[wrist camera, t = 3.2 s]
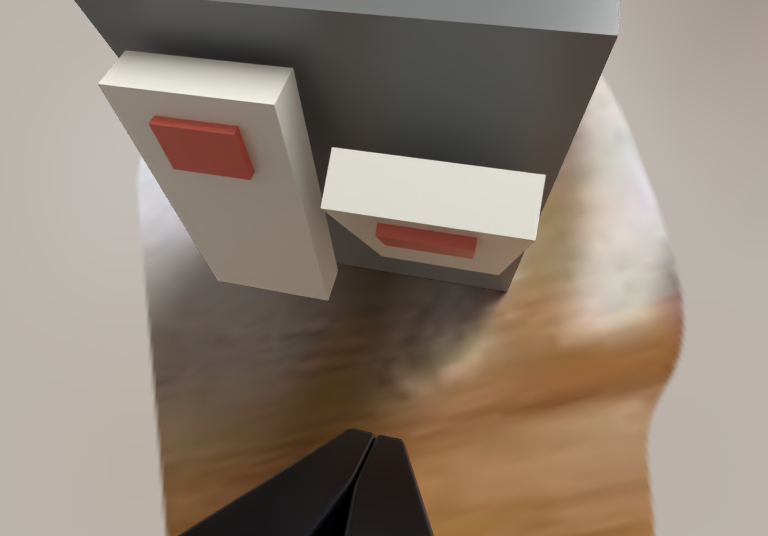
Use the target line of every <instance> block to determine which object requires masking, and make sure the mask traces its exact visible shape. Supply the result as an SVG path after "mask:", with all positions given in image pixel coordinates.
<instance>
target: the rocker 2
mask: <svg viewBox="0 0 768 536" xmlns="http://www.w3.org/2000/svg"><path fill="white" fill-rule="evenodd" d="M545 177H546V175H542V174H535V173H527V172H519V171H512V170H504V169H496V168H488V167H481V166H473V165H465V164H458V163H450V162H442V161H435V160H427V159H419V158H411V157H404V156H396V155H388V154H381V153H373V152H365V151H357V150H350V149H342V148H334V147H332V150H331V155H330V160H329V166H328V171H327V176H326V182H325V187H324V192H323V198H322V203H321V209H322V210H323V211H325V212H326V213H327V214H329V215H330V216H331V217H332V218H334V219H335V220H336V221H338V222H339V223H340V224H341V225H343V226H344V227H345V228H347V229H348V230H349V231H350V232H352V233H353V234H354V235H355V236H357V237H358V238H359V239H361V240H362V241H363V242H364V243H366V244H367V245H368V246H370V247H371V248H372V249H373V250H375V251H376V252H377V253H378V254H380V255H381V256H383V257H389V258H396V259H402V260H408V261H414V262H420V263H426V264H433V265H439V266H445V267H451V268H457V269H463V270H469V271H476V272H482V273H488V274H494V275H500V274H501V273H502V272H503V271H504V270H505V269H506V268H507V267H508V266H509V265H510V264H511V263H512V262H513V261H514V260H515V259H516V258H517V257H519V256H520V255H521V254H522V253H523V252H524V251H525V250H526V249H527V248H528V247H529V246H530V245H531V244H532V243H533V242H534V241H535V240H536V234H537V228H538V221H539V215H540V208H541V202H542V196H543V189H544V183H545Z"/></svg>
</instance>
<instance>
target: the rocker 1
mask: <svg viewBox="0 0 768 536" xmlns="http://www.w3.org/2000/svg"><path fill="white" fill-rule="evenodd" d="M98 85H99V87H100V88H101V90H102V92H103V93H104V95H105V97H106V98H107V100H108V102H109V103H110V105H111V106H112V108H113V110H114V111H115V113H116V115H117V116H118V118H119V120H120V121H121V123H122V125H123V126H124V128H125V129H126V131H127V133H128V134H129V136H130V137H131V139H132V141H133V142H134V144H135V146H136V147H137V149H138V151H139V152H140V154H141V156H142V157H143V159H144V161H145V162H146V164H147V166H148V167H149V169H150V171H151V172H152V174H153V175H154V177H155V179H156V180H157V182H158V184H159V185H160V187H161V189H162V190H163V192H164V194H165V195H166V197H167V198H168V200H169V202H170V203H171V205H172V207H173V208H174V210H175V212H176V213H177V215H178V217H179V218H180V220H181V221H182V223H183V225H184V226H185V228H186V230H187V231H188V233H189V235H190V236H191V238H192V240H193V241H194V243H195V244H196V246H197V248H198V249H199V251H200V253H201V254H202V256H203V258H204V259H205V261H206V263H207V264H208V266H209V267H210V269H211V271H212V272H213V274H214V276H215V277H216V279H217V281H221V282H227V283H233V284H238V285H244V286H249V287H255V288H260V289H266V290H272V291H277V292H283V293H288V294H294V295H299V296H305V297H311V298H316V299H322V300H327V301H328V300H329V297H330V294H331V291H332V288H333V285H334V282H335V279H336V276H337V273H338V269H337V264H336V260H335V255H334V251H333V246H332V242H331V237H330V232H329V228H328V223H327V219H326V214H325V211H323V210H322V209H321V203H322V196H321V192H320V187H319V183H318V178H317V174H316V169H315V165H314V160H313V156H312V151H311V147H310V142H309V137H308V133H307V128H306V124H305V119H304V115H303V110H302V106H301V101H300V97H299V92H298V88H297V83H296V79H295V74H294V70H293V68H288V67H278V66H269V65H259V64H250V63H240V62H231V61H221V60H212V59H202V58H193V57H183V56H174V55H164V54H155V53H145V52H136V51H127V50H125V51H124V53H123V54H122V55H121V56H120V57H119V59H118V60H117V61H116V62H115V64H114V65H113V66H112V67H111V69H110V70H109V71H108V72H107V73H106V75H105V76H104V77H103V78H102V79H101V81H100V82H99V83H98Z"/></svg>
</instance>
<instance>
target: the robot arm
mask: <svg viewBox="0 0 768 536" xmlns="http://www.w3.org/2000/svg"><path fill="white" fill-rule="evenodd" d="M178 536H434V535H433V531H432V528H431V525H430V522H429V519H428V516H427V512H426V509H425V506H424V503H423V500H422V497H421V494H420V490H419V487H418V484H417V481H416V478H415V475H414V471H413V468H412V465H411V462H410V459H409V456H408V453H407V449H406V446H405V444H404V442H403V440H401V439H398V438H393V437H389V436H384V435H379V436H377V437H376V438H375V435H374V434H373V433H370V432H366V431H361V430H357V429H349V430H346V431H345V432H343V433H341V434H340V435H338V436H337V437H335V438H333V439H332V440H330V441H329V442H327V443H325V444H324V445H322V446H321V447H319V448H317V449H316V450H314V451H313V452H311V453H309V454H308V455H306V456H305V457H303V458H301V459H300V460H298V461H296V462H295V463H293V464H292V465H290V466H288V467H287V468H285V469H284V470H282V471H280V472H279V473H277V474H276V475H274V476H272V477H271V478H269V479H268V480H266V481H264V482H263V483H261V484H260V485H258V486H256V487H255V488H253V489H251V490H250V491H248V492H247V493H245V494H243V495H242V496H240V497H239V498H237V499H235V500H234V501H232V502H231V503H229V504H227V505H226V506H224V507H223V508H221V509H219V510H218V511H216V512H215V513H213V514H211V515H210V516H208V517H206V518H205V519H203V520H202V521H200V522H198V523H197V524H195V525H194V526H192V527H190V528H189V529H187V530H186V531H184V532H182V533H181V534H179V535H178Z"/></svg>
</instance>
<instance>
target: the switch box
mask: <svg viewBox="0 0 768 536" xmlns="http://www.w3.org/2000/svg"><path fill="white" fill-rule="evenodd" d="M75 2H76V3H77V4H78V6H79V7H80V8H81V9H82V11H83V12H84V13H85V15H86V16H87V17H88V19H89V20H90V21H91V23H92V24H93V25H94V26H95V28H96V29H97V30H98V32H99V33H100V34H101V35H102V37H103V38H104V39H105V41H106V42H107V43H108V45H109V46H110V47H111V49H112V50H113V51H114V52H115V54H116V55H117V56H118V57H120V56H121V55H122V54H123V53H124V51H125V50H127V51H136V52H145V53H155V54H164V55H174V56H183V57H193V58H202V59H212V60H221V61H231V62H240V63H250V64H259V65H269V66H278V67H288V68H293V70H294V74H295V79H296V83H297V88H298V92H299V97H300V101H301V106H302V110H303V115H304V119H305V124H306V128H307V133H308V137H309V142H310V147H311V151H312V156H313V160H314V165H315V169H316V174H317V178H318V183H319V187H320V192H321V196H322V198H323V192H324V187H325V182H326V176H327V171H328V166H329V160H330V155H331V150H332V147H334V148H342V149H350V150H357V151H365V152H373V153H381V154H388V155H396V156H404V157H411V158H419V159H427V160H435V161H442V162H450V163H458V164H465V165H473V166H481V167H488V168H496V169H504V170H512V171H519V172H527V173H535V174H542V175H546V177H545V183H544V189H543V196H542V202H541V208H540V214H541V212H542V210H543V207H544V205H545V203H546V201H547V198H548V196H549V194H550V191H551V189H552V187H553V184H554V182H555V180H556V177H557V175H558V173H559V170H560V168H561V166H562V164H563V161H564V159H565V157H566V154H567V152H568V150H569V147H570V145H571V143H572V140H573V138H574V136H575V134H576V131H577V129H578V127H579V124H580V122H581V120H582V117H583V115H584V113H585V110H586V108H587V106H588V103H589V101H590V99H591V97H592V94H593V92H594V90H595V87H596V85H597V83H598V80H599V78H600V76H601V73H602V71H603V68H604V66H605V64H606V61H607V60H608V57H609V55H610V53H611V50H612V48H613V45H614V43H615V41H616V39H617V36H618V24H619V9H620V0H75ZM325 214H326V219H327V223H328V228H329V232H330V237H331V242H332V246H333V251H334V255H335V260H336V263H337V264H343V265H349V266H355V267H361V268H367V269H373V270H379V271H385V272H391V273H397V274H403V275H409V276H415V277H421V278H427V279H433V280H439V281H445V282H451V283H457V284H463V285H469V286H475V287H481V288H487V289H493V290H499V291H505V292H507V291H508V288H509V286H510V284H511V281H512V279H513V277H514V274H515V272H516V270H517V268H518V265H519V263H520V261H521V258H522V256H523V254H524V252H523V253H522V254H521V255H520V256H519V257H517V258H516V259H515V260H514V261H513V262H512V263H511V264H510V265H509V266H508V267H507V268H506V269H505V270H504V271H503V272H502V273H501V274H500V275H494V274H488V273H482V272H476V271H469V270H463V269H457V268H451V267H445V266H439V265H433V264H426V263H420V262H414V261H408V260H402V259H396V258H389V257H383V256H381V255H380V254H378V253H377V252H376V251H375V250H373V249H372V248H371V247H370V246H368V245H367V244H366V243H364V242H363V241H362V240H361V239H359V238H358V237H357V236H355V235H354V234H353V233H352V232H350V231H349V230H348V229H347V228H345V227H344V226H343V225H341V224H340V223H339V222H338V221H336V220H335V219H334V218H332V217H331V216H330V215H329V214H327V213H326V212H325ZM539 217H540V215H539Z"/></svg>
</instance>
